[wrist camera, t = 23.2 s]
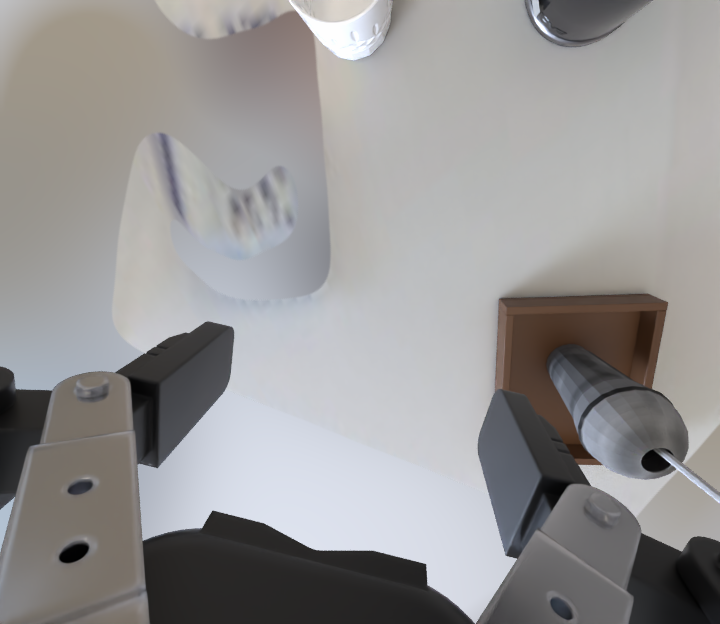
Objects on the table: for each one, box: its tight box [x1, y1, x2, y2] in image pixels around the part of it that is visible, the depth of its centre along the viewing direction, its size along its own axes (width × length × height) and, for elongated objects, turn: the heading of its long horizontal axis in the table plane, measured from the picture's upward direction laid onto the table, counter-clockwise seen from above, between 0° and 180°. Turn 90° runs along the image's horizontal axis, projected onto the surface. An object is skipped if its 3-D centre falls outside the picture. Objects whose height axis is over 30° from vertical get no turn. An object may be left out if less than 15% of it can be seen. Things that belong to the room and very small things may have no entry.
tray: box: [495, 294, 668, 465], centre depth 41 cm, size 19×15×3 cm
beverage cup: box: [546, 344, 720, 503], centre depth 32 cm, size 7×7×20 cm
